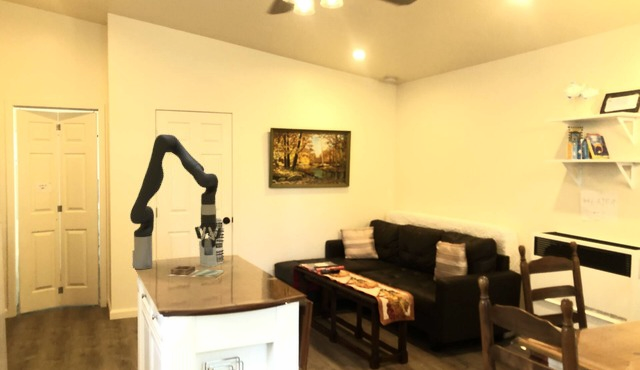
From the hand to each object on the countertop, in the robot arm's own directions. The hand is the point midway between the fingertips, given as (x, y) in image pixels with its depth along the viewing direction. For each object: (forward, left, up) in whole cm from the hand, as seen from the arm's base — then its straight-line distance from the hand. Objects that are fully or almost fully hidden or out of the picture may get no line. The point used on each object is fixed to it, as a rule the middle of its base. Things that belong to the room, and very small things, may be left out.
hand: (208, 247), depth 240 cm
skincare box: (-8, +19, -15) cm, 25 cm away
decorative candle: (-8, +32, -15) cm, 36 cm away
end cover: (0, 0, -4) cm, 4 cm away
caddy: (-7, 0, -15) cm, 16 cm away
